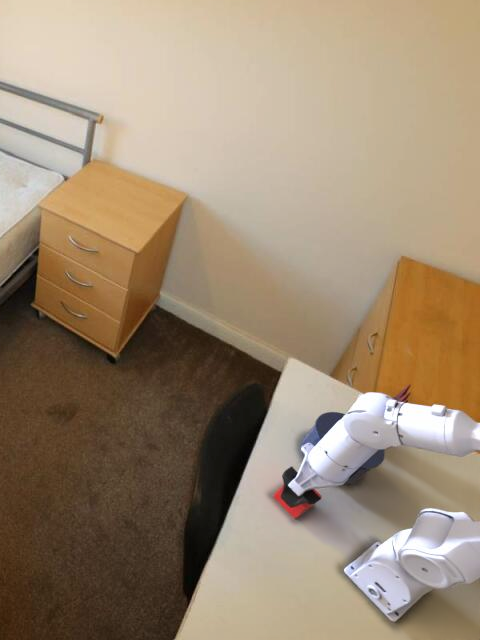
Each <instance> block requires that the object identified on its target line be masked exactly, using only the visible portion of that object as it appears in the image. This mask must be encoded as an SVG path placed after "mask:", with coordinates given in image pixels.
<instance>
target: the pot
mask: <svg viewBox="0 0 480 640" xmlns="http://www.w3.org/2000/svg"><path fill="white" fill-rule="evenodd" d="M318 442H319V440H318V438H317V436H316V433H315V424H314V425H313V426H312V427H311V428H310V430H309V431H307V433H306V434H305V435H304V436H303V438H302V440H301V442H300V451H301V454H302V457H303V458H304V457H305V453H304V452H303V451H302V450H301V448H302V446H304V445H305V444H307V443H311V444H312V445H313V446H316V445H317V444H318ZM371 470H372V469H359V468H358V472H357V473H356V474H355V475H353V476H352V477H350V478H348V480H347V481H346V482H345V483H344V484H343V485H342V486H344V485H345V486H347V485H348V486H350V485H353V484H355V483H357V482H358V481H359V480H361V479H362V478H363V477H364V476H365V475H367V474H368V473H369V472H370V471H371Z"/></svg>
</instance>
